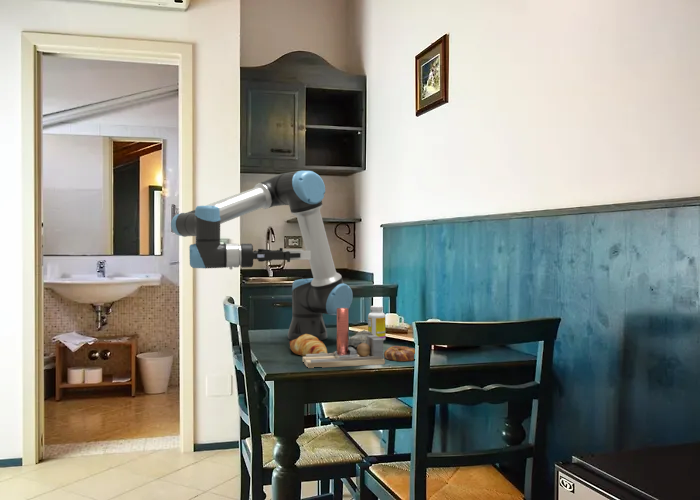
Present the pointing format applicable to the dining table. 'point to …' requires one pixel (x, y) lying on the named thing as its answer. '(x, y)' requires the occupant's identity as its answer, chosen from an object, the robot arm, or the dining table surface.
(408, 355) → the pretzel
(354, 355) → the handle
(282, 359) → the dining table surface
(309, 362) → the base
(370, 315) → the supplement bottle
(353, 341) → the rock
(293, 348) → the croissant
